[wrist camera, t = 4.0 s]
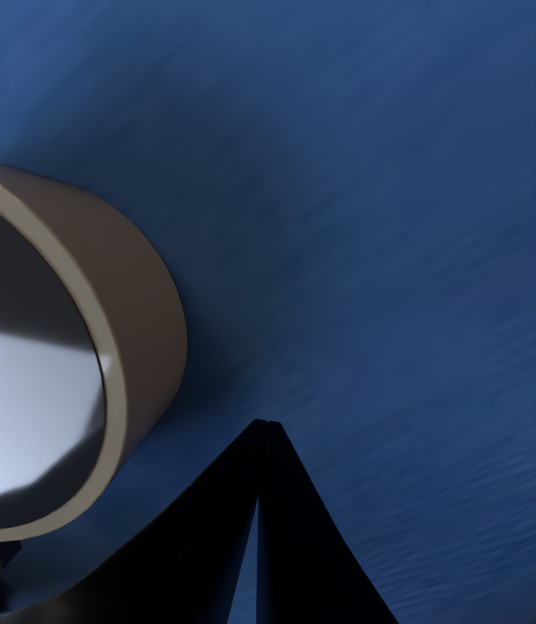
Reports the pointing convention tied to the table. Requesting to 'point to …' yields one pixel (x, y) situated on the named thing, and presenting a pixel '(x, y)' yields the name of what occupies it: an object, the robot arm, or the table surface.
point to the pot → (76, 350)
